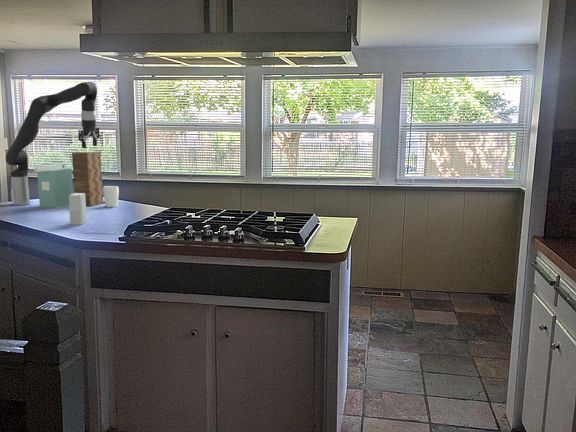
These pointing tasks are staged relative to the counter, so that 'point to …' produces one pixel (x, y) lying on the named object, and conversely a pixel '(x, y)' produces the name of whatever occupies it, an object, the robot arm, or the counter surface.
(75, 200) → the skincare box
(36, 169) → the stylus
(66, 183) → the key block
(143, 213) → the counter surface
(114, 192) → the cup
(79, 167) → the stand
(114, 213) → the counter surface
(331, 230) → the counter surface
